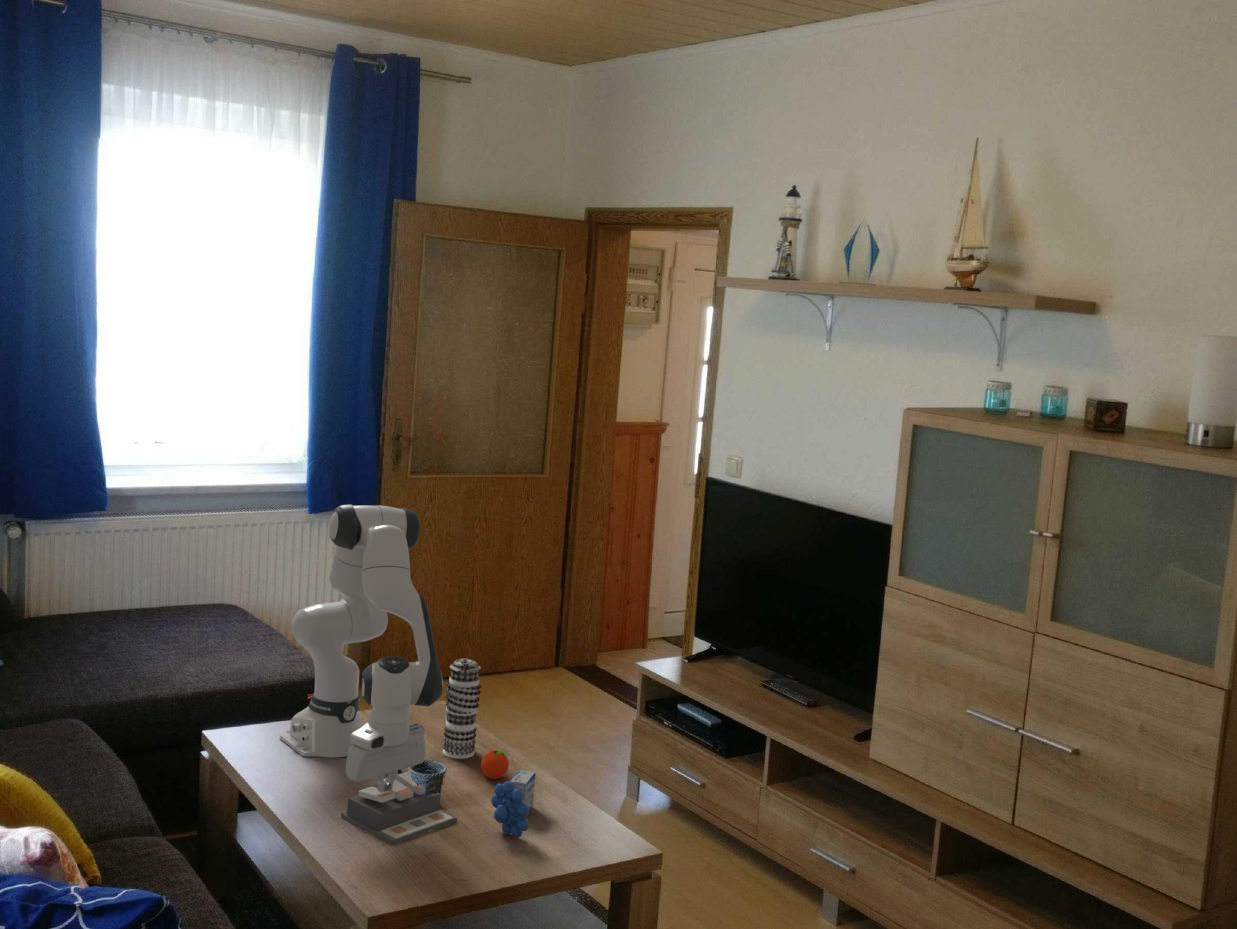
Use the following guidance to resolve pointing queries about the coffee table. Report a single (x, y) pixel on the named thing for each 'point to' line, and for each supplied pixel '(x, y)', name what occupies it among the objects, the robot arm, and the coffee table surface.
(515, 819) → the grapes
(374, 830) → the switch unit
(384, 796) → the block
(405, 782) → the rocker
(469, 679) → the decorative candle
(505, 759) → the tomato
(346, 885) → the coffee table surface
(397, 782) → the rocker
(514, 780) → the medicine box
